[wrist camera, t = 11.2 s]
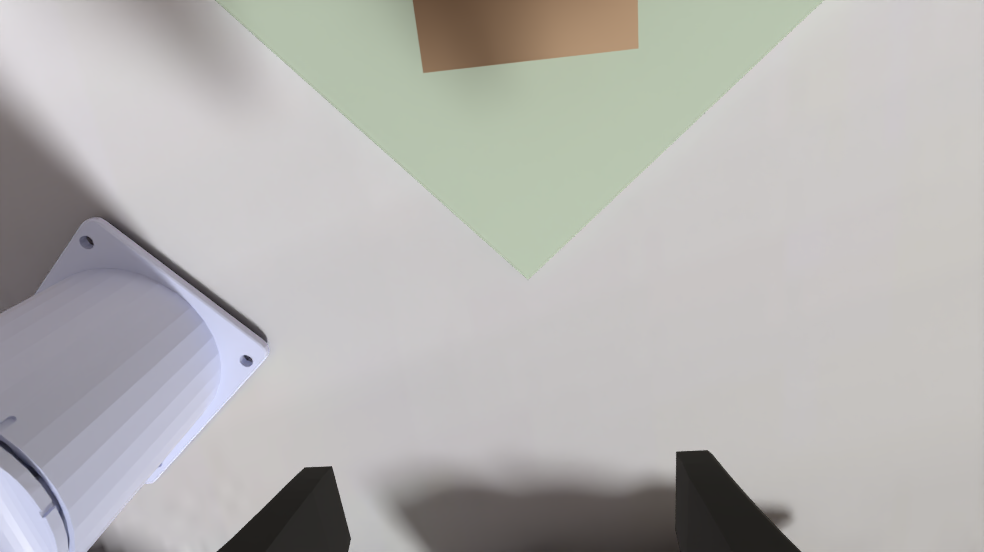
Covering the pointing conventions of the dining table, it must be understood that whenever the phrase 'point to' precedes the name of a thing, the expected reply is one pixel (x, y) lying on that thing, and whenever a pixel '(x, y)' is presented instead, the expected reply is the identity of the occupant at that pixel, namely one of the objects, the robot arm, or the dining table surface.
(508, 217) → the mat
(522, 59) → the letter cube
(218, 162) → the dining table surface
